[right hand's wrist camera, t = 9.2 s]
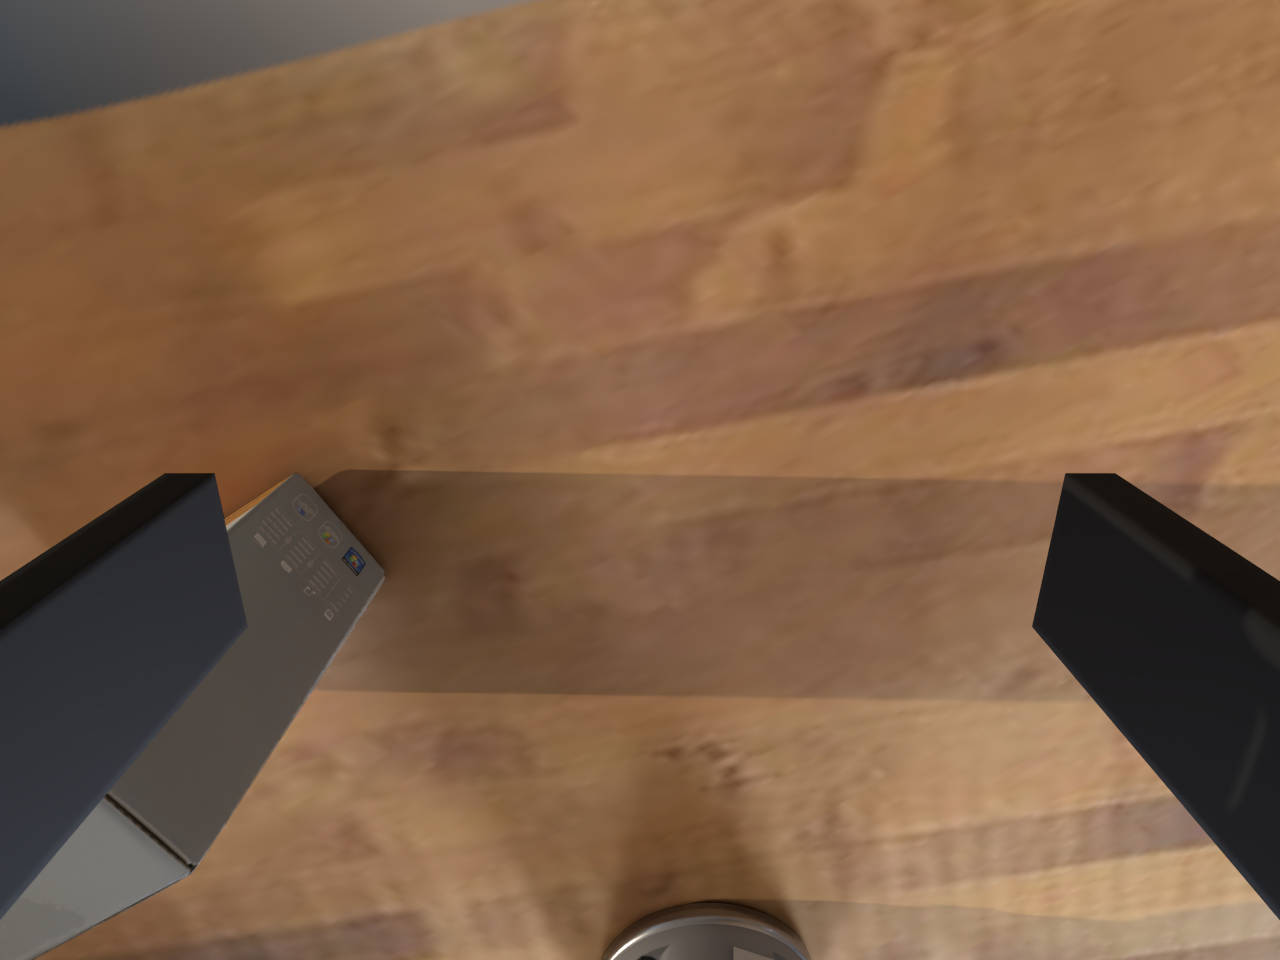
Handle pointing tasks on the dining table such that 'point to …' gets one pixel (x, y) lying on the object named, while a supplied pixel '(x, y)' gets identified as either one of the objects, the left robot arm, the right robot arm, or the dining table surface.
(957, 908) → the dining table surface
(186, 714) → the hard drive box
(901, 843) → the dining table surface
